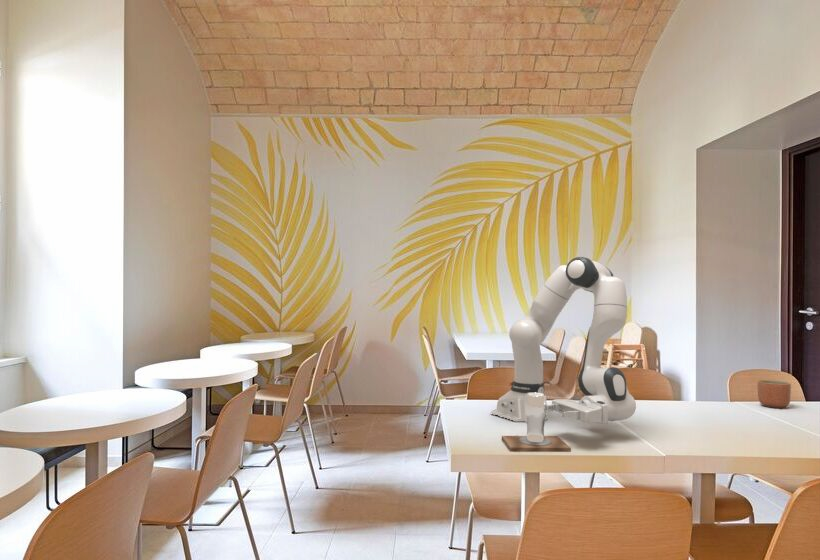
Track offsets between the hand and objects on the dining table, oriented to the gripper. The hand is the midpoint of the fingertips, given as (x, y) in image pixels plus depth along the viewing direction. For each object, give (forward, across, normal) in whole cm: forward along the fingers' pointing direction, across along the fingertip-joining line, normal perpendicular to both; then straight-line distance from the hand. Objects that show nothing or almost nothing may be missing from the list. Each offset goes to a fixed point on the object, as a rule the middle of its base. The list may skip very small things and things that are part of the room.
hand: (555, 411), depth 184 cm
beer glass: (+7, 0, +9) cm, 12 cm away
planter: (-128, -26, +11) cm, 130 cm away
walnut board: (+8, 0, +10) cm, 13 cm away
